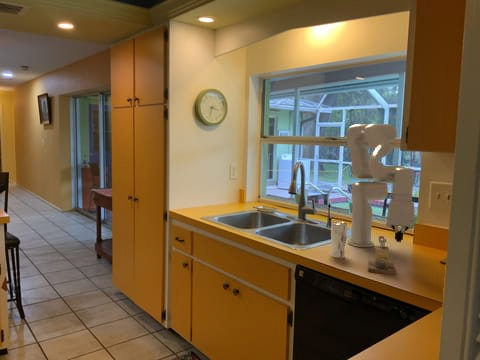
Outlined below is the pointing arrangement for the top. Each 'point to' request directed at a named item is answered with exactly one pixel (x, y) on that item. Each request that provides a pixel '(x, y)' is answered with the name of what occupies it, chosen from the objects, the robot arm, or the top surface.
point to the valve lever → (382, 241)
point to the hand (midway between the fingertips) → (398, 241)
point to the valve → (381, 262)
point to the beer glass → (338, 239)
